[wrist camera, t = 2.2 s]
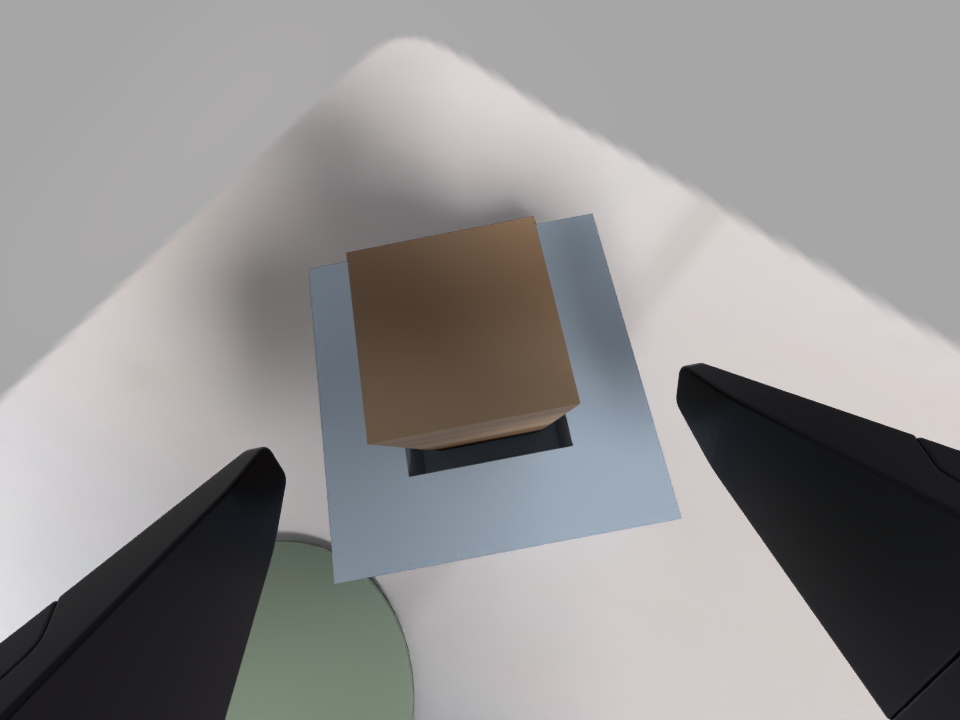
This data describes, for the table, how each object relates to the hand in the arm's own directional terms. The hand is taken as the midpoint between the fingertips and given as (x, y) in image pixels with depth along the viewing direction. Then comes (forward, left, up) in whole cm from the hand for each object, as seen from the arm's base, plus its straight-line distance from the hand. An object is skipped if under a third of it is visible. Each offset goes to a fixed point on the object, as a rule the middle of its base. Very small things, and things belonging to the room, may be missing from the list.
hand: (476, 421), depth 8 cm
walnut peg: (+2, +1, -8) cm, 8 cm away
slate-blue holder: (+2, +1, -10) cm, 10 cm away
